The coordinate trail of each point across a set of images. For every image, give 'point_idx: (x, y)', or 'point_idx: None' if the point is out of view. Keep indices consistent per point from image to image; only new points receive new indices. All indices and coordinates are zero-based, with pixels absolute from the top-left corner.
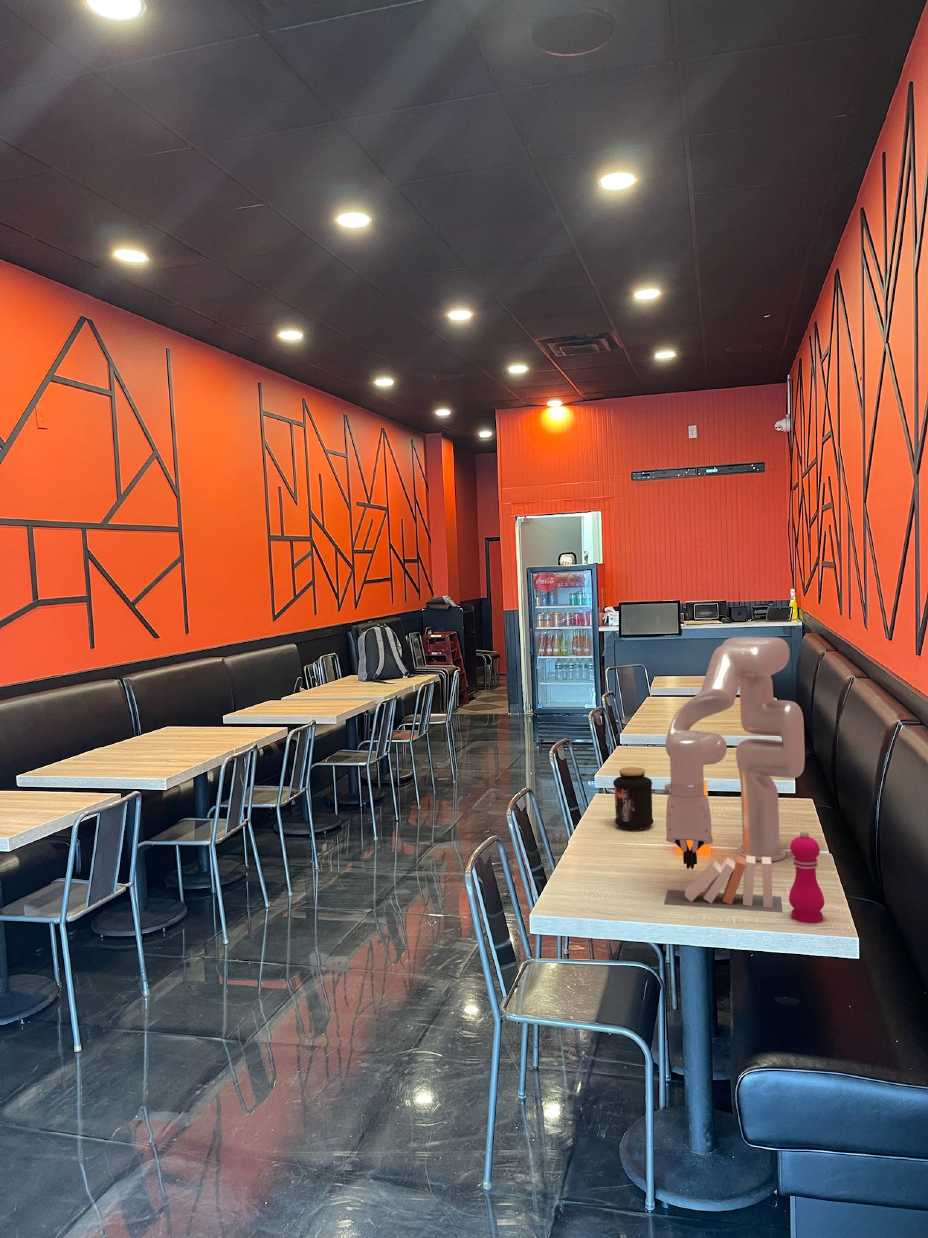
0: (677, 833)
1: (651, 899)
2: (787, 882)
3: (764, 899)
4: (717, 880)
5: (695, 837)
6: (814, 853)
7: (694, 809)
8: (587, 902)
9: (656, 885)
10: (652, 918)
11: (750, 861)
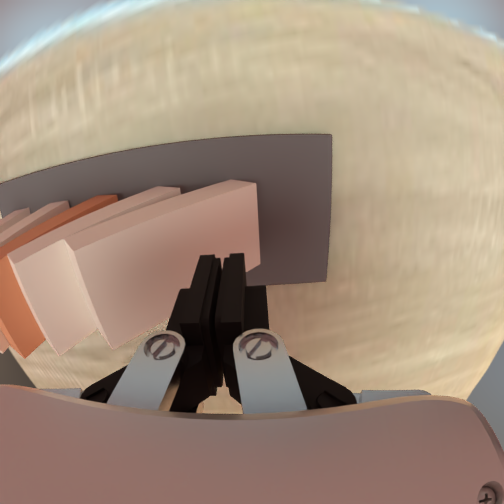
0: (370, 491)
1: (374, 201)
2: (66, 371)
3: (12, 216)
4: (94, 221)
5: (67, 429)
6: None
7: None
8: None
9: (356, 317)
10: (351, 25)
11: None
